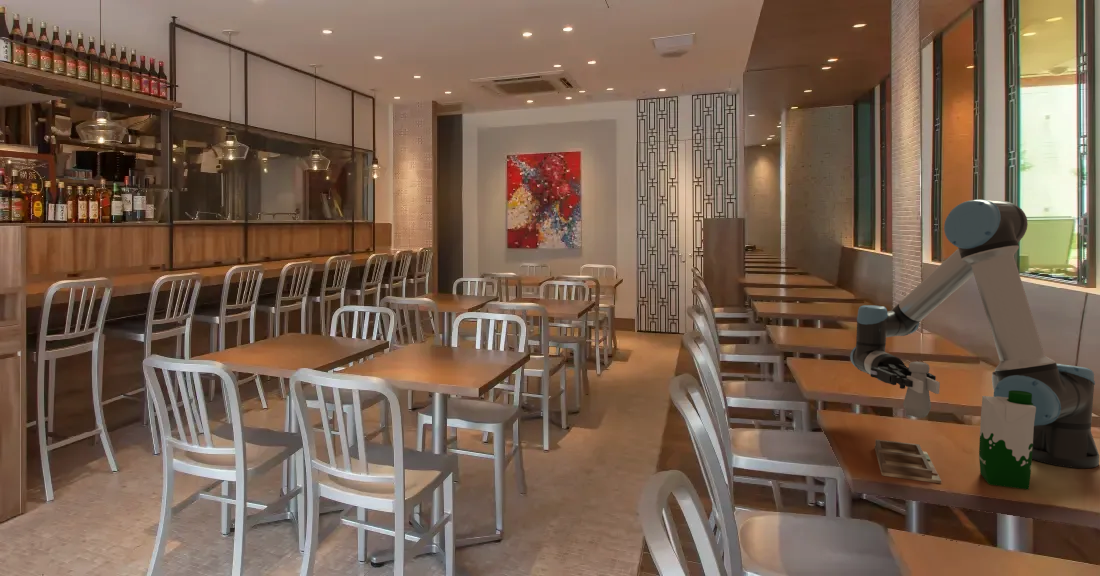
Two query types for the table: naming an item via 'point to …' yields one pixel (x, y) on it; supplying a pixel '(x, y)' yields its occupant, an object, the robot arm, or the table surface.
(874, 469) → the table surface
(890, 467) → the socket board
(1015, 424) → the milk carton
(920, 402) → the salt shaker
